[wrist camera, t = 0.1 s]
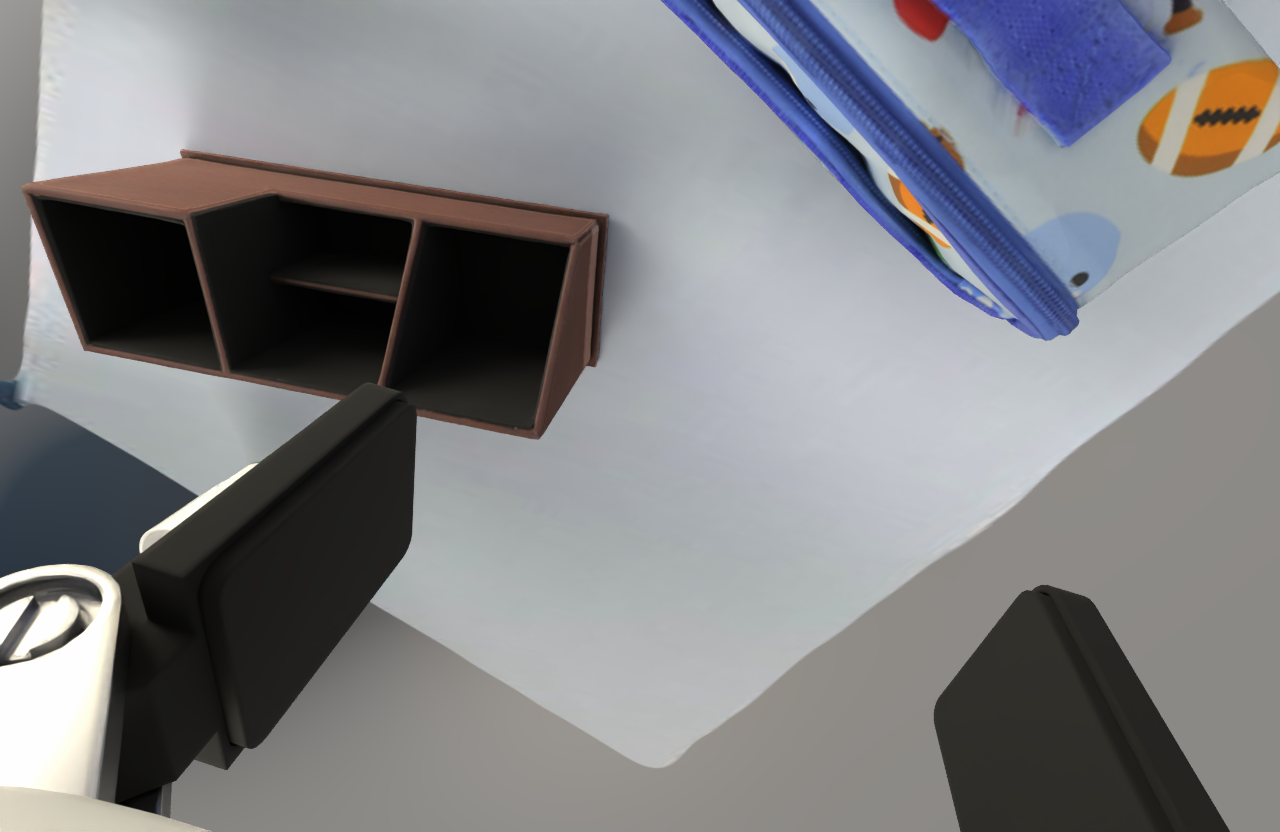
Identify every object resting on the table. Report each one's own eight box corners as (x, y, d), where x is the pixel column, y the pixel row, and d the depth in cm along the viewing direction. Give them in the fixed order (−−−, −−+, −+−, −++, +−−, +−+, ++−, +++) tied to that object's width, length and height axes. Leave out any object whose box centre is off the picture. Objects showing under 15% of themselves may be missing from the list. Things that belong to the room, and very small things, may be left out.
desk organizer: (184, 148, 41) (4, 173, 32) (610, 212, 38) (555, 261, 29) (221, 298, 47) (77, 358, 37) (598, 365, 44) (548, 450, 34)
